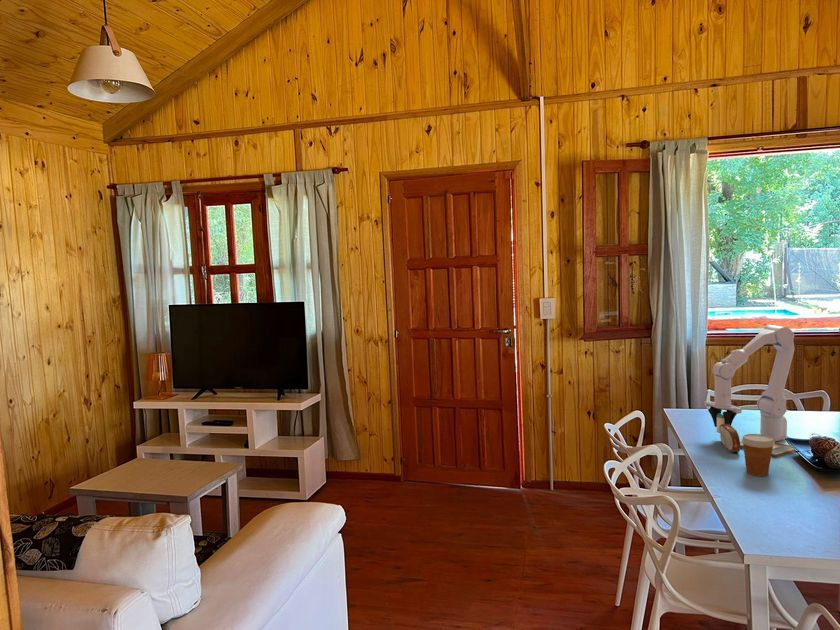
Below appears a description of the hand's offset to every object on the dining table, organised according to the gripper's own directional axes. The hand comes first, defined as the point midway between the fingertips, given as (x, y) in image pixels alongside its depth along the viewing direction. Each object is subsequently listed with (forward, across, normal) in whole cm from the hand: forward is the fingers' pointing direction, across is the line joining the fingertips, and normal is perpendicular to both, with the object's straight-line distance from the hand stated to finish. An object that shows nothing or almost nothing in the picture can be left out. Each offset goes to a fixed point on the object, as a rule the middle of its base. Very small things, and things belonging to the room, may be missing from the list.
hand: (722, 427), depth 235 cm
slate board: (+5, +15, +4) cm, 16 cm away
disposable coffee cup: (+5, +29, -22) cm, 37 cm away
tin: (+5, +8, -7) cm, 12 cm away
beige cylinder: (+2, 0, 0) cm, 2 cm away
